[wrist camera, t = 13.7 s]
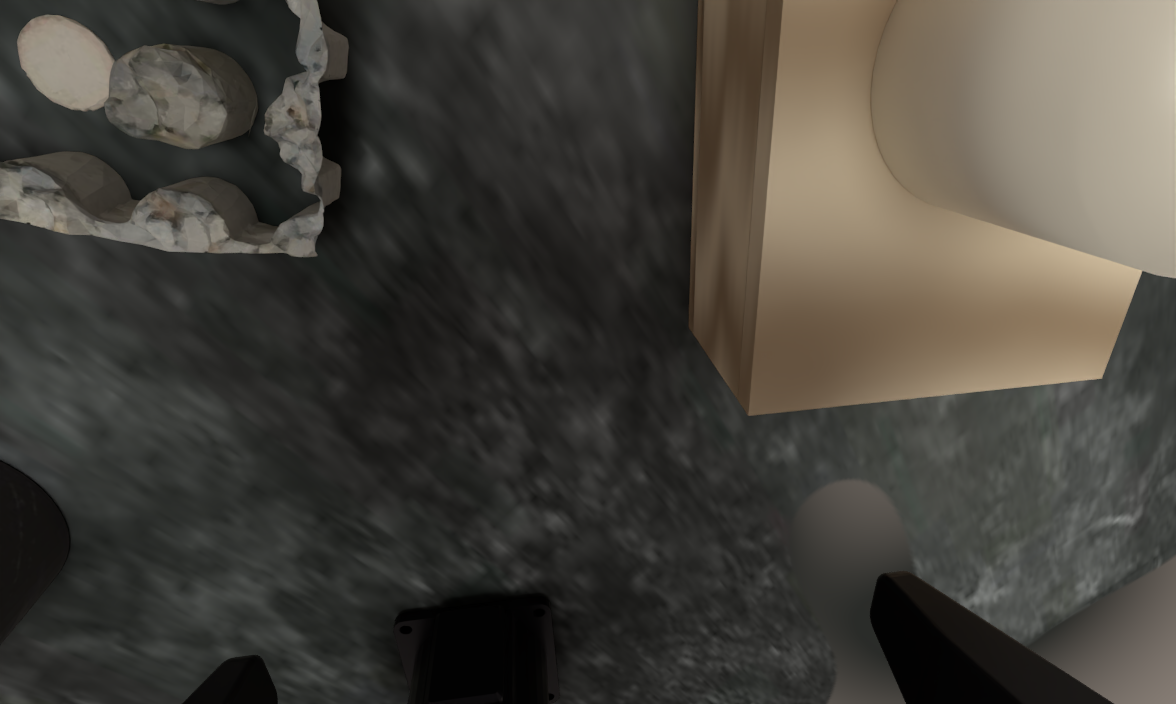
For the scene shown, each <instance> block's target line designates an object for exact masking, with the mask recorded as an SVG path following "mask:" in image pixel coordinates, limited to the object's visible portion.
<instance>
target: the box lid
mask: <svg viewBox="0 0 1176 704" xmlns="http://www.w3.org/2000/svg"><path fill="white" fill-rule="evenodd" d="M897 1H898V0H767V12H766V26H765V39H764V53H763V66H762V80H761V93H760V107H759V121H758V134H757V148H756V161H755V175H754V188H753V202H752V216H751V229H750V243H749V256H748V270H747V283H746V297H745V311H744V324H743V338H742V351H741V365H740V378H739V392H738V401H739V403H740V404H741V406H742V407H743V409H744V410H745V412H746V413H747V414H748V416H752V415H761V414H771V413H780V412H789V411H799V410H808V409H818V408H827V407H837V406H846V405H856V404H865V403H875V402H884V401H894V400H903V399H913V398H922V397H931V396H941V395H950V394H960V393H969V392H979V391H988V390H998V389H1007V388H1017V387H1026V386H1036V385H1045V384H1055V383H1064V382H1073V381H1083V380H1092V379H1102V376H1103V374H1104V371H1105V368H1106V366H1107V363H1108V360H1109V358H1110V355H1111V352H1112V350H1113V347H1114V344H1115V342H1116V339H1117V336H1118V334H1119V331H1120V329H1121V326H1122V323H1123V321H1124V318H1125V315H1126V313H1127V310H1128V307H1129V305H1130V302H1131V299H1132V297H1133V294H1134V291H1135V289H1136V286H1137V283H1138V281H1139V278H1140V276H1141V273H1142V270H1139V269H1135V268H1132V267H1129V266H1126V265H1122V264H1119V263H1116V262H1113V261H1110V260H1106V259H1103V258H1100V257H1097V256H1093V255H1090V254H1087V253H1084V252H1081V251H1077V250H1074V249H1071V248H1068V247H1065V246H1061V245H1058V244H1055V243H1052V242H1048V241H1045V240H1042V239H1039V238H1036V237H1032V236H1029V235H1026V234H1023V233H1020V232H1016V231H1013V230H1010V229H1007V228H1003V227H1000V226H997V225H994V224H991V223H987V222H984V221H981V220H978V219H975V218H971V217H968V216H965V215H962V214H958V213H955V212H952V211H949V210H946V209H942V208H939V207H937V206H934V205H931V204H928V203H926V202H925V201H923V200H921V199H919V198H917V197H915V196H914V195H913V194H912V193H910V192H909V191H908V190H907V189H905V188H904V187H903V186H902V185H901V184H900V182H899V181H898V180H897V179H896V178H895V177H894V176H893V174H892V172H891V171H890V169H889V168H888V166H887V165H886V163H885V161H884V159H883V156H882V154H881V152H880V150H879V147H878V144H877V140H876V136H875V133H874V128H873V121H872V113H871V87H872V78H873V70H874V65H875V60H876V56H877V51H878V47H879V44H880V41H881V38H882V35H883V32H884V29H885V26H886V24H887V22H888V20H889V17H890V15H891V13H892V11H893V8H894V6H895V4H896V2H897Z"/></svg>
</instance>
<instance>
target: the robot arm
mask: <svg viewBox="0 0 1176 704" xmlns="http://www.w3.org/2000/svg"><path fill="white" fill-rule="evenodd" d="M538 608H539V609H538ZM870 619H871V624H872V627H873V629H874V632H875V634H876V636H877V639H878V641H879V643H880V645H881V648H882V650H883V652H884V654H885V657H886V659H887V661H888V664H889V666H890V668H891V670H892V673H893V675H894V677H895V679H896V682H897V684H898V686H899V689H900V691H901V693H902V695H903V698H904V700H905V702H906V704H1114V703H1112V702H1111V701H1109V700H1108V699H1106V698H1104V697H1103V696H1101V695H1100V694H1098V693H1097V692H1095V691H1093V690H1092V689H1090V688H1089V687H1087V686H1086V685H1084V684H1083V683H1081V682H1080V681H1078V680H1077V679H1075V678H1073V677H1072V676H1070V675H1069V674H1067V673H1065V672H1064V671H1063V670H1061V669H1059V668H1058V667H1056V666H1055V665H1053V664H1052V663H1050V662H1048V661H1047V660H1045V659H1044V658H1042V657H1041V656H1039V655H1038V654H1036V653H1034V652H1033V651H1032V650H1030V649H1028V648H1027V647H1025V646H1024V645H1022V644H1021V643H1019V642H1018V641H1016V640H1015V639H1013V638H1011V637H1010V636H1008V635H1007V634H1005V633H1004V632H1002V631H1001V630H999V629H997V628H996V627H994V626H993V625H991V624H990V623H988V622H987V621H985V620H984V619H982V618H980V617H979V616H977V615H976V614H974V613H973V612H971V611H970V610H968V609H966V608H965V607H963V606H962V605H960V604H959V603H957V602H956V601H954V600H953V599H951V598H949V597H948V596H946V595H945V594H943V593H942V592H940V591H939V590H937V589H935V588H934V587H932V586H931V585H929V584H928V583H926V582H925V581H923V580H922V579H920V578H918V577H917V576H915V575H914V574H912V573H910V572H907V571H897V572H889V573H883V574H881V575H880V576H879V577H878V579H877V582H876V586H875V591H874V595H873V600H872V604H871V608H870ZM393 632H394V635H395V639H396V643H397V646H398V650H399V653H400V657H401V661H402V664H403V668H404V672H405V675H406V679H407V683H408V686H409V690H410V693H409V700H408V704H551V703H554V702H556V701H557V700H558V699H559V696H560V693H559V682H558V673H557V663H556V653H555V644H554V634H553V625H552V615H551V606H550V602H549V600H548V599H547V598H544V597H531V598H523V599H516V600H508V601H500V602H492V603H484V604H476V605H468V606H460V607H452V608H444V609H436V610H428V611H421V612H413V613H405V614H401V615H399V616H398V617H397V618H396V620H395V624H394V631H393ZM182 704H278V698H277V692H276V689H275V686H274V684H273V682H272V679H271V677H270V675H269V672H268V670H267V668H266V665H265V663H264V661H263V659H262V658H261V657H260V656H258V655H249V656H242V657H234V658H230V659H228V660H226V661H225V662H223V663H222V664H221V665H220V666H219V667H218V668H217V669H216V670H215V671H214V672H213V673H212V674H211V675H210V676H209V677H208V678H207V679H206V680H205V681H204V682H203V683H202V684H201V685H200V686H199V687H198V688H197V689H196V690H195V691H194V692H193V693H192V694H191V695H190V696H189V697H188V698H187V699H186V700H185V701H184V702H183V703H182Z"/></svg>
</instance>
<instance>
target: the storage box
mask: <svg viewBox="0 0 1176 704" xmlns="http://www.w3.org/2000/svg"><path fill="white" fill-rule="evenodd" d="M766 12H767V0H698V26H697V60H696V93H695V127H694V161H693V194H692V228H691V262H690V295H689V329H690V330H691V332H692V333H693V335H694V336H695V337H696V339H697V340H698V342H699V343H700V345H701V346H702V348H703V349H704V351H705V352H706V354H707V355H708V357H709V358H710V360H711V361H712V363H713V364H714V366H715V367H716V369H717V370H718V372H719V373H720V375H721V376H722V378H723V379H724V380H725V382H726V383H727V385H728V386H729V388H730V389H731V391H732V392H733V394H734V395H735V397H736V398H737V399H738V392H739V378H740V365H741V351H742V338H743V324H744V311H745V297H746V283H747V270H748V256H749V243H750V229H751V216H752V202H753V188H754V175H755V161H756V148H757V134H758V121H759V107H760V93H761V80H762V66H763V53H764V39H765V26H766Z"/></svg>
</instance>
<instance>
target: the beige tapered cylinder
mask: <svg viewBox="0 0 1176 704" xmlns="http://www.w3.org/2000/svg"><path fill="white" fill-rule="evenodd" d="M871 113H872V121H873V128H874V133H875V136H876V140H877V144H878V147H879V150H880V152H881V154H882V156H883V159H884V161H885V163H886V165H887V166H888V168H889V169H890V171H891V172H892V174H893V176H894V177H895V178H896V179H897V180H898V181H899V182H900V184H901V185H902V186H903V187H904V188H905V189H907V190H908V191H909V192H910V193H912V194H913V195H914V196H915V197H917V198H919V199H921V200H923V201H925V202H926V203H928V204H931V205H934V206H937V207H939V208H942V209H946V210H949V211H952V212H955V213H958V214H962V215H965V216H968V217H971V218H975V219H978V220H981V221H984V222H987V223H991V224H994V225H997V226H1000V227H1003V228H1007V229H1010V230H1013V231H1016V232H1020V233H1023V234H1026V235H1029V236H1032V237H1036V238H1039V239H1042V240H1045V241H1048V242H1052V243H1055V244H1058V245H1061V246H1065V247H1068V248H1071V249H1074V250H1077V251H1081V252H1084V253H1087V254H1090V255H1093V256H1097V257H1100V258H1103V259H1106V260H1110V261H1113V262H1116V263H1119V264H1122V265H1126V266H1129V267H1132V268H1135V269H1139V270H1142V271H1145V272H1148V273H1151V274H1155V275H1158V276H1164V277H1171V278H1176V0H898V1H897V2H896V4H895V6H894V8H893V11H892V13H891V15H890V17H889V20H888V22H887V24H886V26H885V29H884V32H883V35H882V38H881V41H880V44H879V47H878V51H877V56H876V60H875V65H874V70H873V78H872V87H871Z"/></svg>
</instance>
